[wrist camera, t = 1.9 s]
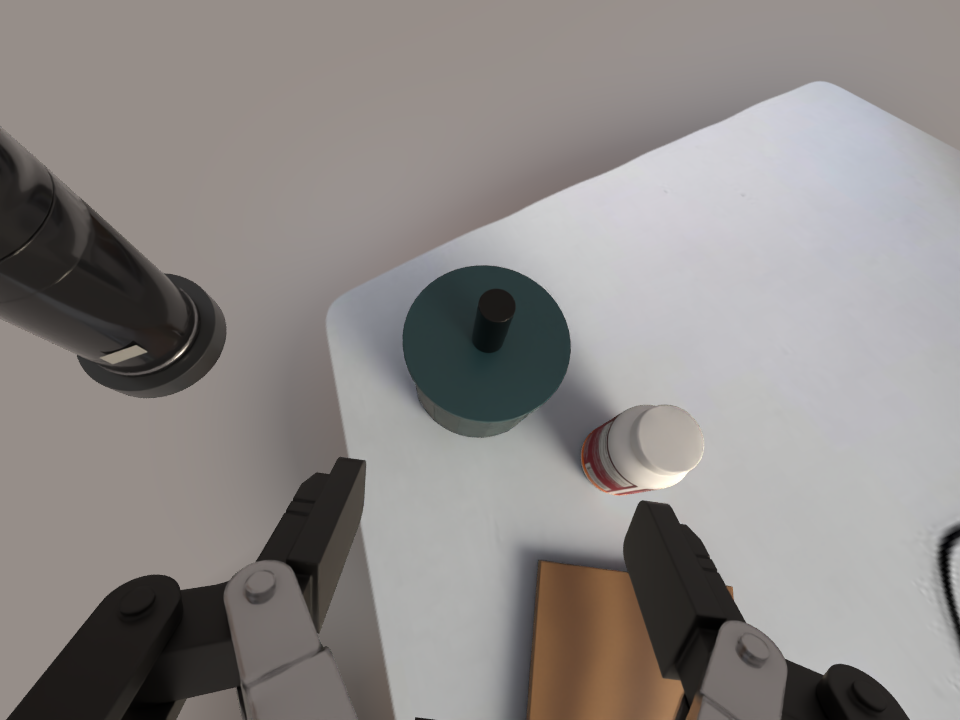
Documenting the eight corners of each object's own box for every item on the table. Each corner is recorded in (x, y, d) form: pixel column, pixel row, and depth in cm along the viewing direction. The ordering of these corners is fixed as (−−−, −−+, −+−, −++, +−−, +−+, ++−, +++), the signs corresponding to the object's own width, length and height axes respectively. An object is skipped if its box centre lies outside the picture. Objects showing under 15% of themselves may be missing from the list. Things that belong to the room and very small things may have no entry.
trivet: (522, 772, 32) (524, 780, 31) (538, 559, 37) (540, 560, 36) (738, 798, 32) (747, 806, 31) (725, 585, 37) (733, 586, 36)
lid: (388, 411, 32) (376, 384, 26) (419, 261, 36) (415, 207, 30) (561, 436, 32) (591, 416, 26) (571, 285, 37) (598, 237, 31)
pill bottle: (648, 434, 41) (719, 405, 31) (642, 503, 39) (715, 496, 29) (583, 418, 41) (632, 384, 31) (573, 486, 39) (622, 473, 29)
